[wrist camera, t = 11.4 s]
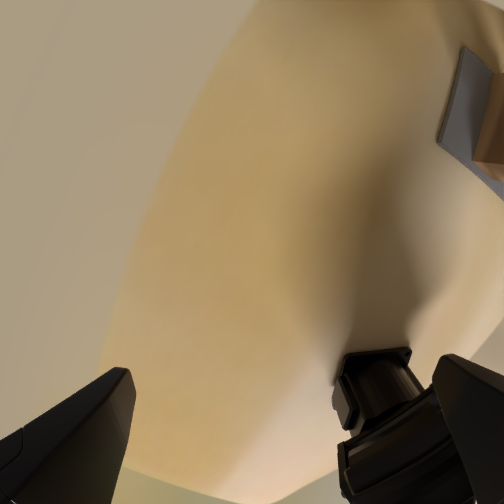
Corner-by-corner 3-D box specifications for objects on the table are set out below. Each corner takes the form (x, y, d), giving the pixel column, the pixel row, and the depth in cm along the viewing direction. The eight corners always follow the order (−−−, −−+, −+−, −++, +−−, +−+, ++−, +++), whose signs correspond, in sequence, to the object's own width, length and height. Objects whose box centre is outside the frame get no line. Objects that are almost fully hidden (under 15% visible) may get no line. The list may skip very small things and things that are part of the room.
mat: (525, 114, 16) (529, 114, 16) (505, 202, 19) (509, 203, 18) (461, 47, 15) (465, 46, 14) (436, 143, 18) (441, 143, 17)
